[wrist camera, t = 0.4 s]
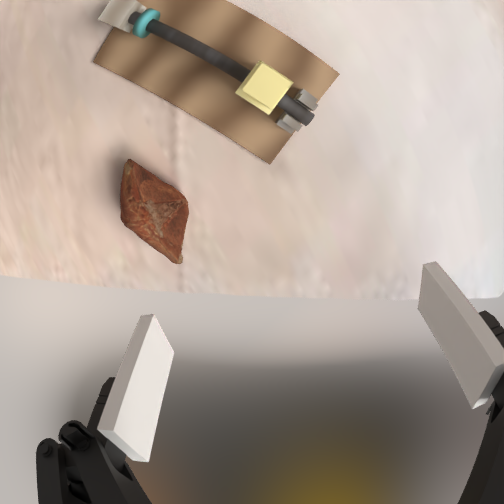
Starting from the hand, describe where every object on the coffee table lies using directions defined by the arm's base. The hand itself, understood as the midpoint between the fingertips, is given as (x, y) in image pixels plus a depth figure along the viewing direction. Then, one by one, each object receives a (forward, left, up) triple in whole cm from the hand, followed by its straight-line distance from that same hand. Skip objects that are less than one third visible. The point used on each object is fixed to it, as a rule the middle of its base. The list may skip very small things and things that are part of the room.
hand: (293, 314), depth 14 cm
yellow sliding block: (-6, +8, -24) cm, 26 cm away
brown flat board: (-13, +8, -26) cm, 30 cm away
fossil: (-9, -11, -26) cm, 30 cm away
